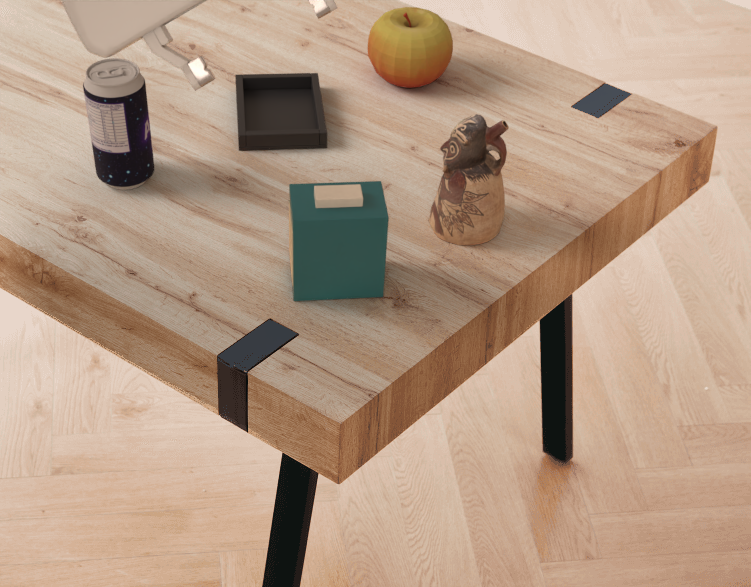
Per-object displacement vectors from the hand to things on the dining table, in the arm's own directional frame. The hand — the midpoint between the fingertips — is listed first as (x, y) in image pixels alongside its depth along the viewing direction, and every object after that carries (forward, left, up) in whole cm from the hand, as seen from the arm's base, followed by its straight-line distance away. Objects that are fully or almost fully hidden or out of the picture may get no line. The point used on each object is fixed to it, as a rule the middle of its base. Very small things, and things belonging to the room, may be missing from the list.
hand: (266, 49), depth 71 cm
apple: (+30, +36, -28) cm, 55 cm away
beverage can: (-5, +29, -28) cm, 41 cm away
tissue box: (+8, +6, -28) cm, 30 cm away
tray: (+13, +33, -28) cm, 46 cm away
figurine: (+23, +9, -28) cm, 38 cm away
